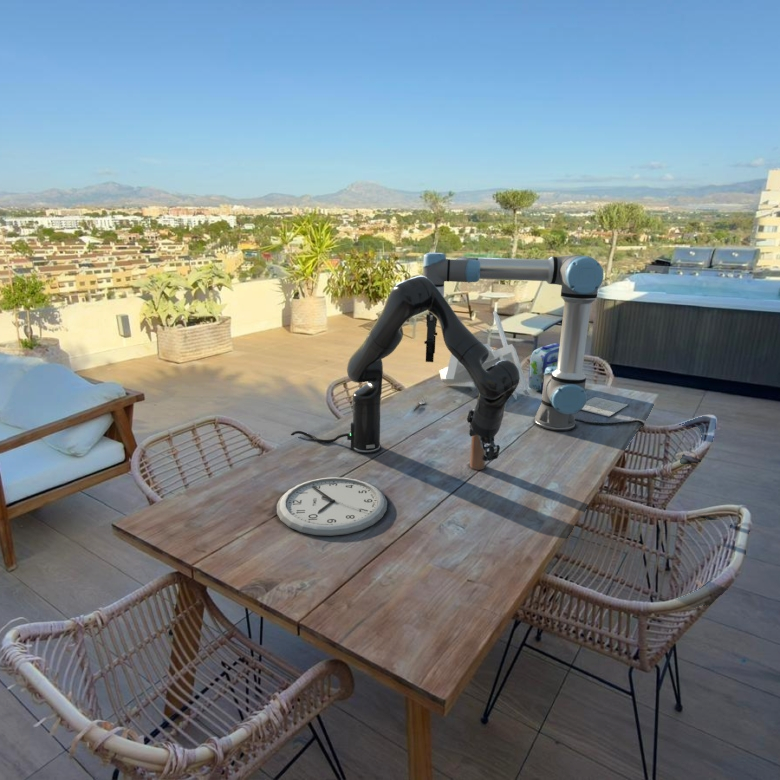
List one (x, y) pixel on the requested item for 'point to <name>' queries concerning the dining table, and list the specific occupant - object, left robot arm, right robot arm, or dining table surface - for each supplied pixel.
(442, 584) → the dining table surface
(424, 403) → the fork
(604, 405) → the invitation card
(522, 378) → the white plastic object
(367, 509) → the wall clock
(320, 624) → the dining table surface
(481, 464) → the bottle
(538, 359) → the lunch box
